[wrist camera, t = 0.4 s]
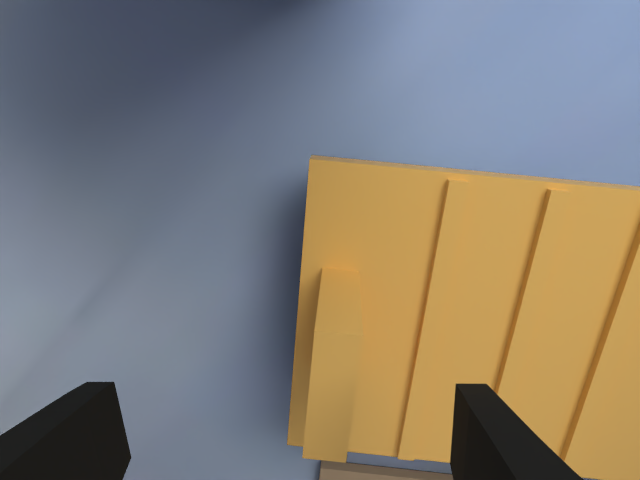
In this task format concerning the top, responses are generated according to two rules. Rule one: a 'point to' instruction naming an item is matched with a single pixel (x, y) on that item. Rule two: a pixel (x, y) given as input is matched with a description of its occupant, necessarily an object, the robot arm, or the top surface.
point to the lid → (466, 311)
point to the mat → (374, 472)
